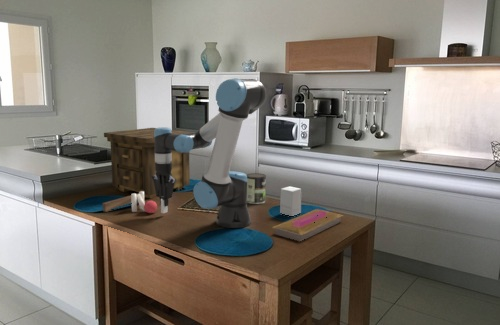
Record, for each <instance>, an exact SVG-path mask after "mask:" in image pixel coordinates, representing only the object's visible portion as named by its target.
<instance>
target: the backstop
mask: <svg viewBox="0 0 500 325" xmlns="http://www.w3.org/2000/svg"><path fill="white" fill-rule="evenodd" d="M129 203H131V195H127V196H123V197H120V198H116V199H113V200H109V201H105V202H102V211H103V212H105V213H107V212H110V211H112V210H111V209H113V208H116V207H119V206H123V205H126V204H129ZM137 203H139V202H138V200H137Z"/></svg>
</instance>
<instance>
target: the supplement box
mask: <svg viewBox="0 0 500 325" xmlns="http://www.w3.org/2000/svg"><path fill="white" fill-rule="evenodd" d="M279 201H280V205H279V206H280V207H279V211H280V212H279V214H280V213H282V214H285V215H289V216H294V215H297V214H299V213H301V214H302V188H299V187H294V186H290V185H289V186H285V187H282V188H280V199H279ZM282 214H281V215H282ZM285 215H284V216H285ZM289 216H288V217H289ZM297 216H298V215H297ZM294 217H295V216H294Z"/></svg>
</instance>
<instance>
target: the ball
mask: <svg viewBox="0 0 500 325" xmlns="http://www.w3.org/2000/svg"><path fill="white" fill-rule="evenodd" d="M144 209H145V211H144V212H146V213H148V214H154V213H155V212H156V211H157V209H158V204H157V202H156V201H155V200H148V201H145V205H144Z"/></svg>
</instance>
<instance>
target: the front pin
mask: <svg viewBox="0 0 500 325" xmlns="http://www.w3.org/2000/svg"><path fill="white" fill-rule="evenodd" d="M136 196H137V200H138V202H137V203H138V204H139V208H140V207H141V209H142V212H146V211H145V209H144V205H145V203H146V202H145V200H144V201H143V199H142V197H141V195H140V193H139V192H138V193H136ZM144 202H145V203H144ZM141 209H140V210H141Z"/></svg>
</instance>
